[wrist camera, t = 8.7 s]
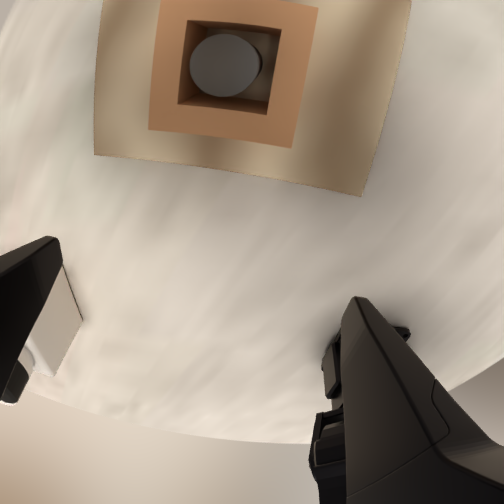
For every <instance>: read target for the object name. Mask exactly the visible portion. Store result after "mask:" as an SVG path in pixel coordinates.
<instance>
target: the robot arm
mask: <svg viewBox="0 0 504 504" xmlns="http://www.w3.org/2000/svg"><path fill="white" fill-rule="evenodd" d="M62 263H63V258H62V253H61V248H60V242H59V240H58V238H56V237H52V236H45V237H42V238H40V239H38V240H35V241H33V242H31V243H28V244H26V245H24V246H21V247H19V248H17V249H15V250H13V251H10V252H8V253H6V254H4V255H2V256H0V401H1V398H2V396H3V393H4V391H5V388H6V386H7V383H8V381H9V378H10V376H11V374H12V371H13V369H14V367H15V364H16V362H17V360H18V358H19V356H20V353H21V351H22V349H23V347H24V345H25V343H26V341H27V339H28V337H29V335H30V332H31V330H32V328H33V327H34V325H35V323H36V321H37V319H38V317H39V315H40V313H41V311H42V309H43V307H44V305H45V303H46V301H47V299H48V296H49V294H50V292H51V289H52V287H53V285H54V282H55V280H56V278H57V276H58V274H59V271H60V269H61V267H62ZM410 335H411V333H410V330H409V329H406V328H396V327H392V326H391V325H390V324H389V323H388V322H387V320H386V319H385V318H384V317H383V316H382V315H381V314H380V312H379V311H378V310H377V309H376V308H375V307H374V306H373V305H372V304H371V302H370V301H369V300H368V299H367V298H364V297H357V296H354V297H352V299H351V300H350V302H349V304H348V306H347V308H346V310H345V312H344V314H343V317H342V321H341V329H340V331H339V333H338V335H337V337H336V339H335V341H334V342H332V343H331V345H330V347H329V349H328V350H327V352H326V354H325V356H324V358H323V360H322V361H323V363H322V365H321V370H322V371H323V372H324V384H325V396H326V397H327V399H331V400H332V410H331V411H328V412H321V413H317V414H316V420H315V424H314V430H313V436H312V442H311V448H310V454H309V467H310V469H311V471H312V474H313V477H314V479H315V481H316V482H317V484H318V489H319V501H320V504H504V446H501V445H499V444H497V443H496V442H494V441H493V440H491V439H490V438H489V437H488V436H487V435H486V434H485V433H484V432H483V430H482V429H481V428H480V427H479V426H478V425H477V424H476V423H475V422H474V421H473V420H472V419H471V418H470V416H468V414H467V413H466V412H465V411H464V410H463V409H462V408H461V407H460V406H459V405H458V404H457V402H456V401H454V399H453V398H452V397H451V396H450V394H449V393H448V392H447V391H446V390H445V388H444V387H443V386H442V385H441V384H440V382H439V381H438V380H437V379H435V376H434V375H433V374H432V373H431V372H430V370H429V369H428V368H427V367H426V366H425V364H424V363H423V362H422V361H421V360H420V359H419V357H418V356H417V355H416V354H415V353H414V351H413V350H412V349H411V348H410V347H409V346H408V344H407V343H406V341H407V340H408V338H409V337H410Z"/></svg>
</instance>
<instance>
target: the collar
mask: <svg viewBox="0 0 504 504" xmlns="http://www.w3.org/2000/svg"><path fill="white" fill-rule="evenodd" d="M318 9H319V8H317V7H313V6H308V5H303V4H298V3H292V2H287V1H281V0H161V2H160V9H159V15H158V23H157V30H156V38H155V47H154V56H153V66H152V76H151V89H150V103H149V121H148V130H154V131H166V132H177V133H187V134H196V135H205V136H213V137H221V138H228V139H235V140H242V141H249V142H255V143H261V144H267V145H273V146H279V147H284V148H290V149H291V148H292V143H293V139H294V134H295V129H296V124H297V119H298V114H299V109H300V104H301V99H302V94H303V88H304V83H305V78H306V73H307V68H308V63H309V57H310V52H311V47H312V42H313V36H314V31H315V25H316V20H317V15H318ZM208 28H215V29H228V30H238V31H247V32H255V33H262V34H269V35H276V36H280V40H279V46H278V52H277V57H276V63H275V69H274V75H273V80H272V86H271V92H270V98H269V102H265V101H259V100H252V99H245V98H238V97H230V96H227V97H218V96H213V95H210V94H203V93H199V90H200V88H199V87H198V86H197V85H196V84H195V82H194V81H193V79H192V76H191V73H190V59H191V56H192V53H193V51H194V50H195V48H196V47H197V46H198V45H199V44H200V43H201V42H202V41H203V40H205V39H206V36H207V30H208Z"/></svg>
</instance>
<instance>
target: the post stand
mask: <svg viewBox="0 0 504 504" xmlns="http://www.w3.org/2000/svg"><path fill="white" fill-rule="evenodd" d="M281 1H287V2H292V3H298V4H303V5H308V6H313V7H317V8H319V9H318V15H317V20H316V25H315V31H314V36H313V42H312V47H311V52H310V57H309V63H308V68H307V73H306V78H305V83H304V88H303V94H302V99H301V104H300V109H299V114H298V119H297V124H296V129H295V134H294V139H293V143H292V148H291V149H290V148H284V147H279V146H273V145H267V144H261V143H255V142H249V141H242V140H235V139H228V138H221V137H213V136H205V135H196V134H187V133H177V132H166V131H154V130H148V121H149V103H150V89H151V76H152V66H153V56H154V47H155V38H156V30H157V23H158V15H159V9H160V2H161V0H103V7H102V13H101V21H100V29H99V37H98V47H97V58H96V72H95V91H94V155H101V156H112V157H123V158H133V159H142V160H151V161H160V162H168V163H176V164H184V165H191V166H198V167H205V168H212V169H219V170H225V171H231V172H237V173H243V174H249V175H255V176H261V177H267V178H272V179H277V180H283V181H288V182H293V183H298V184H303V185H308V186H313V187H318V188H323V189H327V190H332V191H337V192H341V193H346V194H350V195H354V196H359V197H361V196H362V193H363V190H364V187H365V184H366V181H367V178H368V174H369V171H370V168H371V165H372V162H373V158H374V155H375V152H376V149H377V145H378V142H379V138H380V135H381V131H382V128H383V124H384V121H385V117H386V113H387V110H388V106H389V102H390V98H391V95H392V91H393V87H394V83H395V79H396V74H397V70H398V66H399V62H400V57H401V53H402V48H403V44H404V39H405V34H406V29H407V24H408V19H409V13H410V8H411V2H412V0H281ZM279 40H280V36H276V35H269V34H262V33H255V32H247V31H238V30H228V29H215V28H208V30H207V36H206V39H205V40H203V41H202V42H201V43H200V44H199V45H198V46H197V47H196V48H195V50H194V51H193V53H192V56H191V59H190V73H191V76H192V79H193V81H194V82H195V84H196V85H197V86H198V87H199V88H200V90H199V93H203V94H210V95H213V96H218V97H227V96H230V97H238V98H245V99H252V100H259V101H265V102H269V98H270V92H271V86H272V80H273V75H274V69H275V63H276V57H277V52H278V46H279Z"/></svg>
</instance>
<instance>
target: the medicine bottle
mask: <svg viewBox="0 0 504 504" xmlns="http://www.w3.org/2000/svg"><path fill="white" fill-rule="evenodd" d="M82 322H83V321H82V318H81V316H80V313H79V311H78V308H77V306H76V303H75V300H74V298H73V295H72V292H71V289H70V287H69V284H68V281H67V278H66V275H65V272H64V269H63V266H62V267H61V269H60V271H59V274H58V276H57V278H56V280H55V282H54V285H53V287H52V289H51V292H50V294H49V296H48V299H47V301H46V303H45V305H44V307H43V309H42V311H41V313H40V315H39V317H38V319H37V321H36V323H35V325H34V327H33V328H32V330H31V332H30V335H29V337H28V339H27V341H26V343H25V345H24V347H23V349H22V351H21V353H20V356H19V358H18V360H17V362H16V364H15V367H14V369H13V371H12V374H11V376H10V378H9V381H8V383H7V386H6V388H5V391H4V393H3V396H2V398H1V401H0V403H1V404H5V405H9V406H12V405H15V404H17V403H18V401H19V398H20V396H21V394H22V392H23V390H24V388H25V386H26V384H27V382H28V380H29V378H30V376H31V374H32V372H33V371H35V372H38V373H41V374H44V375H47V376H50V377H54V376H55V374H56V372H57V370H58V368H59V366H60V364H61V362H62V360H63V358H64V356H65V354H66V352H67V351H68V349H69V347H70V345H71V343H72V341H73V339H74V337H75V335H76V334H77V332H78V330H79V328H80V326H81V324H82Z"/></svg>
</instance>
